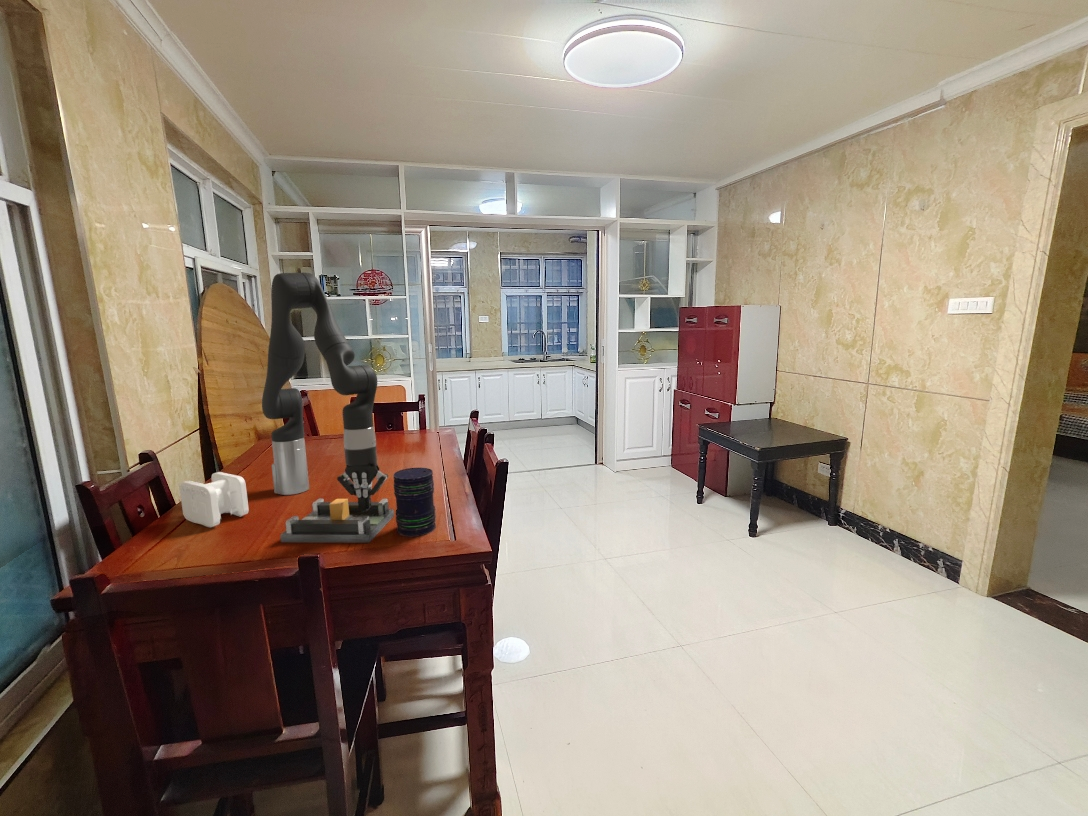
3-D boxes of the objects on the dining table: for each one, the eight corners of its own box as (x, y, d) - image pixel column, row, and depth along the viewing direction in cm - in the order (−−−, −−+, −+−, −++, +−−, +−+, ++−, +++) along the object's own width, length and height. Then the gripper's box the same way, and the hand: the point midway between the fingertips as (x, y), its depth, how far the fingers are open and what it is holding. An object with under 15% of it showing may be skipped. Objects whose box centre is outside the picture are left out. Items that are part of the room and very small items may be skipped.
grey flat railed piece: (281, 542, 118) (278, 522, 117) (316, 515, 135) (315, 498, 134) (369, 542, 117) (367, 522, 116) (394, 515, 134) (392, 498, 133)
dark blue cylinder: (399, 539, 118) (395, 480, 116) (394, 525, 127) (390, 470, 125) (439, 532, 122) (436, 475, 120) (432, 518, 131) (429, 465, 129)
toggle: (328, 523, 123) (326, 504, 123) (336, 517, 128) (334, 498, 127) (344, 523, 123) (343, 504, 122) (352, 517, 128) (350, 498, 127)
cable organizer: (252, 517, 135) (247, 477, 133) (212, 531, 126) (206, 488, 124) (221, 508, 142) (216, 470, 140) (181, 521, 133) (175, 481, 131)
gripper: (327, 448, 119) (333, 515, 121) (380, 448, 118) (385, 515, 121) (341, 441, 126) (346, 504, 129) (391, 441, 125) (395, 504, 128)
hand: (365, 510), depth 125 cm, fingers closed
